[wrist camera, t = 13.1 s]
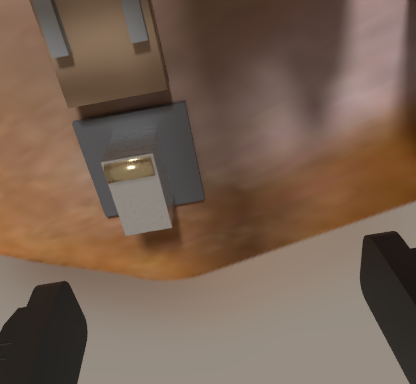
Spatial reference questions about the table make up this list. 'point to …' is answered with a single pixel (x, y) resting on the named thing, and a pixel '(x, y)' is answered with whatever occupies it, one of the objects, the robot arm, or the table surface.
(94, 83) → the brown flat block
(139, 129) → the lever cap
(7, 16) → the table surface
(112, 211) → the rubber mat
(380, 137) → the table surface
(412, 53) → the table surface
